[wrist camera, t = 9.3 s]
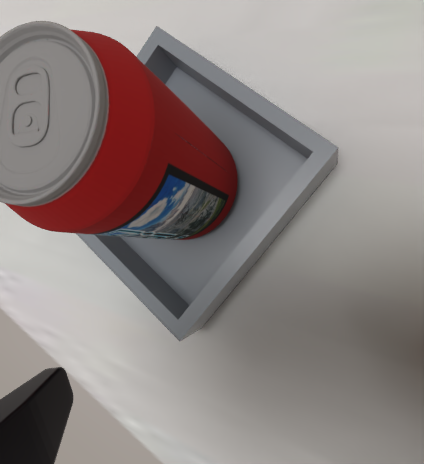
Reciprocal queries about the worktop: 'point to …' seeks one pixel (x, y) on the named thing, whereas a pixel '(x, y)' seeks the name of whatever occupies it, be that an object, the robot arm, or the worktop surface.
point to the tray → (246, 200)
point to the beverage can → (103, 141)
